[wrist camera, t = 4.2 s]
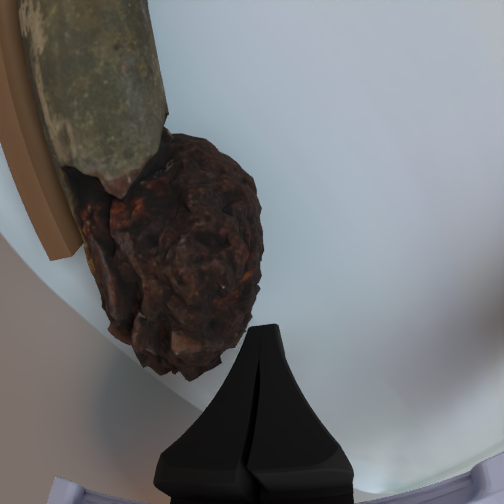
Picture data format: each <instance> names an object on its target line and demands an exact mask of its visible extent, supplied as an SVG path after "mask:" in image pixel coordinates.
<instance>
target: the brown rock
mask: <svg viewBox="0 0 504 504" xmlns="http://www.w3.org/2000/svg"><path fill="white" fill-rule="evenodd" d="M17 3H18V12H19V20H20V28H21V35H22V41H23V47H24V53H25V59H26V65H27V70H28V75H29V79H30V83H31V87H32V91H33V95H34V98H35V102H36V107H37V111H38V115H39V119H40V123H41V126H42V130H43V133H44V136H45V139H46V142H47V145H48V148H49V152H50V155H51V158H52V161H53V164H54V167H55V170H56V173H57V176H58V178H59V181H60V184H61V186H62V189H63V192H64V194H65V197H66V199H67V202H68V205H69V207H70V210H71V212H72V215H73V217H74V220H75V222H76V225H77V227H78V229H79V231H80V233H81V235H82V238H83V241H84V248H85V253H86V257H87V262H88V265H89V268H90V270H91V273H92V274H93V276H94V278H95V281H96V283H97V286H98V289H99V291H100V294H101V300H102V308H103V309H104V310H105V312H106V314H107V316H108V318H109V320H110V322H111V324H110V326H109V328H108V331H109V332H110V333H111V334H112V335H113V336H114V337H115V338H117V339H119V340H120V341H121V342H123V343H125V344H128V345H132V347H133V349H134V352H135V354H136V356H137V358H138V360H139V361H140V363H141V365H142V367H143V368H144V367H146V366H149V367H151V368H152V369H153V370H154V371H155V372H156V373H157V374H159V375H164V374H167V373H168V372H170V371H172V373H173V374H176V373H177V372H178V371H179V372H181V374H182V375H183V376H184V377H185V379H186V380H188V381H189V382H190V381H192V380H194V379H196V378H198V377H199V376H200V375H201V374H203V373H204V372H206V371H209V370H211V369H213V368H215V367H216V366H218V365H219V364H221V363H222V362H221V358H220V355H221V354H222V353H223V352H224V351H225V350H226V349H228V348H235V347H236V345H237V343H238V342H239V340H240V338H241V337H242V335H243V333H244V332H246V330H245V329H246V327H247V324H248V322H249V321H250V320H251V318H252V314H251V311H252V307H253V305H254V302H255V300H256V295H257V294H258V292H259V290H260V287H259V286H258V285H257V284H258V283H259V281H260V279H261V276H262V275H261V270H260V261H262V254H263V252H264V245H263V231H262V226H261V223H260V213H261V209H262V208H261V206H260V203H259V200H258V197H257V189H256V186H255V183H254V179H253V178H252V177H251V176H250V175H249V174H248V173H247V172H245V171H244V170H243V169H242V168H241V166H240V165H239V164H238V163H237V162H236V161H235V160H233V159H232V158H231V157H229V156H228V155H225V154H223V153H221V152H219V151H218V149H217V148H216V147H215V146H214V145H213V144H212V143H210V142H209V141H208V140H206V139H204V138H198V137H193V136H189V135H185V134H181V133H180V134H171V133H170V132H169V130H168V129H167V128H165V127H164V124H165V121H166V118H167V115H169V112H168V107H167V102H166V96H165V91H164V86H163V81H162V76H161V72H160V67H159V62H158V56H157V51H156V46H155V40H154V35H153V30H152V25H151V20H150V15H149V10H148V2H147V0H17Z"/></svg>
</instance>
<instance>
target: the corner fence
mask: <svg viewBox="0 0 504 504" xmlns="http://www.w3.org/2000/svg"><path fill="white" fill-rule="evenodd" d="M0 142H1V145H2V148H3V151H4V154H5V157H6V160H7V163H8V166H9V168H10V171H11V174H12V177H13V179H14V182H15V184H16V187H17V189H18V192H19V194H20V197H21V199H22V202H23V204H24V206H25V209H26V211H27V213H28V216H29V218H30V220H31V222H32V224H33V227H34V229H35V231H36V233H37V235H38V237H39V239H40V241H41V243H42V245H43V247H44V249H45V251H46V253H47V255H48V257H49V259H50V261H53V260H58V259H62V258H67V257H72V256H73V255H74V253H75V252H76V251H77V250H78V249H79V247H80V246H81V245H82V244H83V243H84V241H83V238H82V235H81V233H80V231H79V229H78V227H77V225H76V222H75V220H74V217H73V215H72V212H71V210H70V207H69V205H68V202H67V199H66V197H65V194H64V192H63V189H62V186H61V184H60V181H59V178H58V176H57V173H56V170H55V167H54V164H53V161H52V158H51V155H50V152H49V148H48V145H47V142H46V139H45V136H44V133H43V130H42V126H41V123H40V119H39V115H38V111H37V107H36V102H35V98H34V95H33V91H32V87H31V83H30V79H29V75H28V70H27V65H26V59H25V53H24V47H23V41H22V35H21V28H20V20H19V12H18V3H17V0H0Z"/></svg>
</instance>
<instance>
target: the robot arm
mask: <svg viewBox="0 0 504 504" xmlns="http://www.w3.org/2000/svg"><path fill="white" fill-rule="evenodd" d="M353 477H354V472H353V468H352V466H351V464H350V462H349V460H348V458H347V457H346V455H345V453H344V451H343V450H342V448H341V446H340V445H339V443H338V442H337V441H336V440H335V439H334V438H333V436H332V435H331V434H330V433H329V432H328V430H327V429H326V428H325V427H324V425H323V424H322V423H321V421H320V420H319V418H318V417H317V415H316V414H315V413H314V411H313V410H312V408H311V407H310V405H309V404H308V402H307V400H306V399H305V397H304V395H303V394H302V392H301V390H300V388H299V386H298V384H297V383H296V381H295V379H294V376H293V374H292V372H291V370H290V368H289V365H288V363H287V360H286V358H285V352H284V347H283V343H282V339H281V334H280V330H279V326H278V325H277V324H268V325H260V326H252V327H250V328H249V329H248V331H247V334H246V337H245V339H244V342H243V345H242V347H241V349H240V352H239V354H238V356H237V358H236V360H235V362H234V364H233V366H232V368H231V370H230V372H229V374H228V376H227V377H226V379H225V381H224V383H223V385H222V386H221V388H220V389H219V391H218V392H217V394H216V396H215V397H214V398H213V400H212V401H211V403H210V404H209V405H208V407H207V408H206V409H205V410H204V412H203V413H202V414H201V416H200V417H199V418H198V419H197V420H196V421H195V422H194V424H193V425H192V426H191V427H190V428H189V429H188V430H187V431H186V432H185V433H184V434H183V435H182V436H181V437H180V438H179V439H178V440H177V441H175V442H174V443H173V444H172V445H171V446H170V447H168V448H167V449H166V450H165V451H164V452H163V453H161V455H160V458H159V461H158V464H157V467H156V472H155V476H154V481H153V483H154V486H155V487H156V488H158V489H159V490H160V491H162V492H164V493H165V494H167V495H168V496H170V497H171V502H170V504H354V499H353ZM47 504H149V503H143V502H139V501H133V500H129V499H123V498H119V497H115V496H111V495H107V494H103V493H99V492H95V491H92V490H88V489H85V488H84V487H83V486H81V485H79V484H77V483H75V482H73V481H70V480H67V479H64V478H61V477H58V476H56V477H55V479H54V482H53V485H52V488H51V491H50V494H49V497H48V501H47ZM355 504H504V452H502V453H500V454H497V455H495V456H493V457H491V458H489V459H486V460H484V461H482V462H480V463H478V464H477V465H475V466H474V467H473V468H472V469H471V471H469V472H466V473H464V474H461V475H458V476H456V477H453V478H450V479H447V480H445V481H442V482H438V483H435V484H433V485H429V486H426V487H423V488H419V489H416V490H412V491H409V492H405V493H401V494H397V495H393V496H389V497H385V498H381V499H376V500H371V501H365V502H360V503H355Z"/></svg>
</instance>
